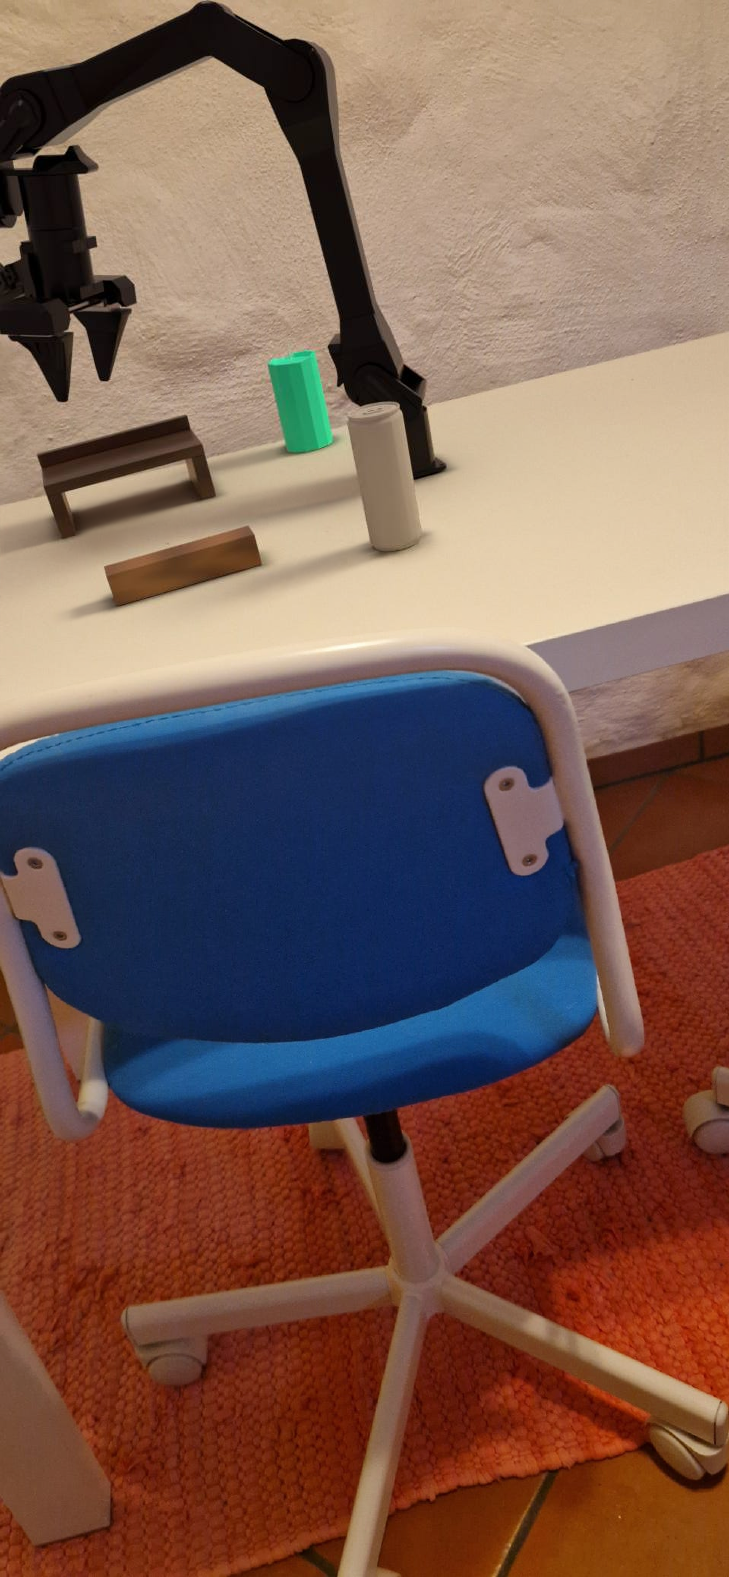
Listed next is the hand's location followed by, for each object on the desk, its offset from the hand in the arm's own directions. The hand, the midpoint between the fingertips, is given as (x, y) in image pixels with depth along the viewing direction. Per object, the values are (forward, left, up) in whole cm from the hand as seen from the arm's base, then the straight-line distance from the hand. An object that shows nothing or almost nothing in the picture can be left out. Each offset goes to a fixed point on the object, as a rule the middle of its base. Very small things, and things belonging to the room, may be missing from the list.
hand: (84, 391), depth 114 cm
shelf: (+3, -2, -14) cm, 15 cm away
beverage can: (-33, -23, -14) cm, 42 cm away
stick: (-27, -4, -14) cm, 30 cm away
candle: (+9, -25, -14) cm, 30 cm away
